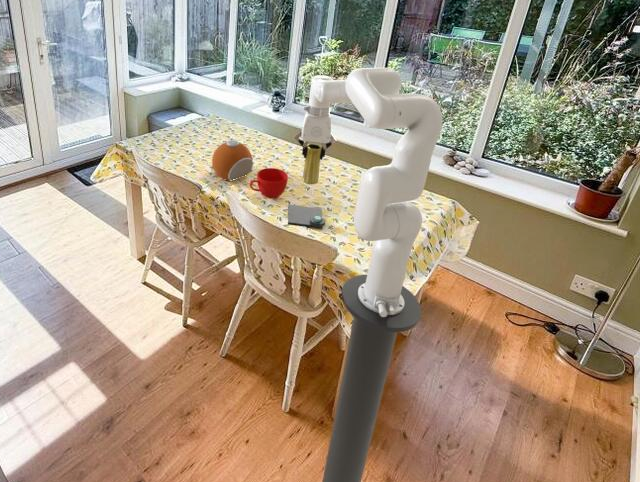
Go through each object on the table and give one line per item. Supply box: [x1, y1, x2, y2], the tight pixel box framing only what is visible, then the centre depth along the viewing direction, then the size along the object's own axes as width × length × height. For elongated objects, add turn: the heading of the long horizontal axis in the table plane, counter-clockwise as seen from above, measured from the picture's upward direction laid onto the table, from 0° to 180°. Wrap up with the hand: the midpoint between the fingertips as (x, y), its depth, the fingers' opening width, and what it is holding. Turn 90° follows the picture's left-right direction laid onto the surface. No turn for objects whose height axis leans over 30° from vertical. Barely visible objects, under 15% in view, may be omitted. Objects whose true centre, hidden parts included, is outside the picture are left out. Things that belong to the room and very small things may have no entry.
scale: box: [287, 204, 326, 230], centre depth 161 cm, size 15×14×2 cm
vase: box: [301, 143, 322, 185], centre depth 153 cm, size 6×6×14 cm
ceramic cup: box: [249, 167, 289, 199], centre depth 176 cm, size 13×17×10 cm
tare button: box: [314, 216, 323, 222], centre depth 156 cm, size 3×3×1 cm
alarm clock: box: [211, 139, 254, 181], centre depth 192 cm, size 19×18×17 cm
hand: (313, 157), depth 152 cm, fingers closed on vase, 5 cm apart
